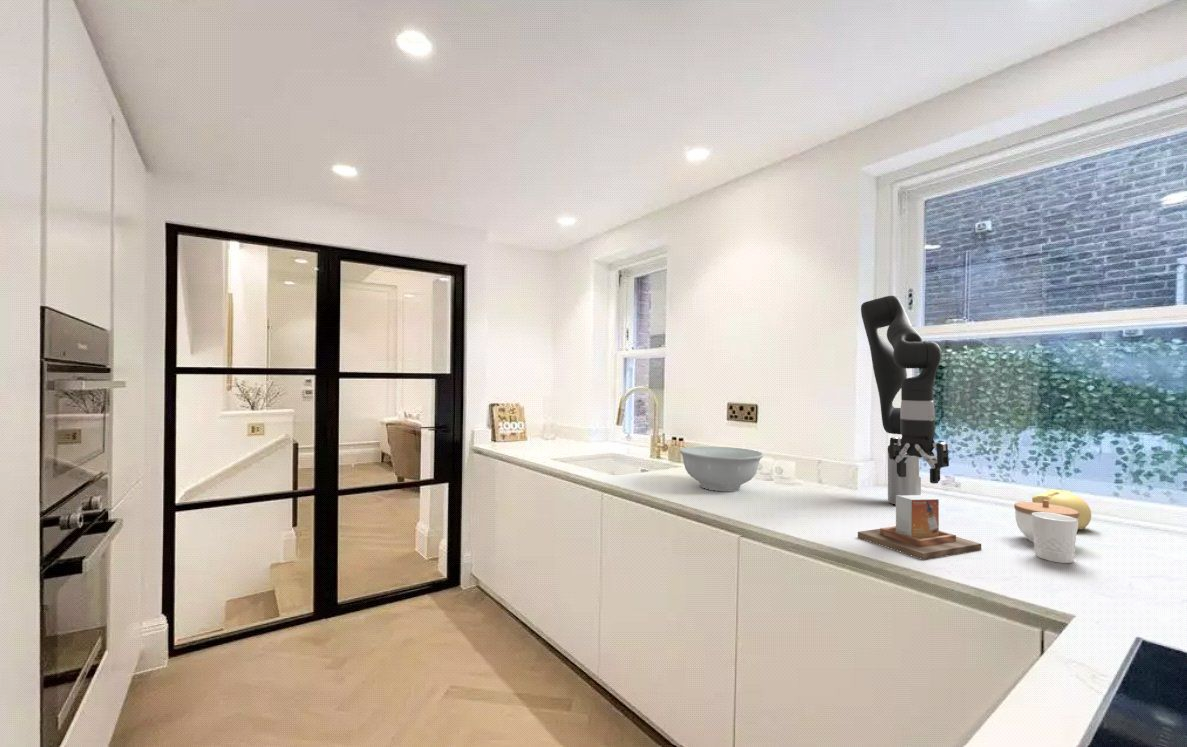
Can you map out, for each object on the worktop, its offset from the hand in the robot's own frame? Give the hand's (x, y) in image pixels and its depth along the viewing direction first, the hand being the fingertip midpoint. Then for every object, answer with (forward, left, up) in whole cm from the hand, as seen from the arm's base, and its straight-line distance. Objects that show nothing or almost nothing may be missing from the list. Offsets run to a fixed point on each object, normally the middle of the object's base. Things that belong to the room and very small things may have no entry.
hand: (917, 479), depth 128 cm
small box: (0, 0, -15) cm, 15 cm away
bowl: (+8, -75, -17) cm, 77 cm away
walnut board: (0, 0, -17) cm, 17 cm away
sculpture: (-55, +4, -17) cm, 58 cm away
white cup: (-20, +19, -17) cm, 32 cm away
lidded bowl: (-33, +11, -17) cm, 39 cm away
